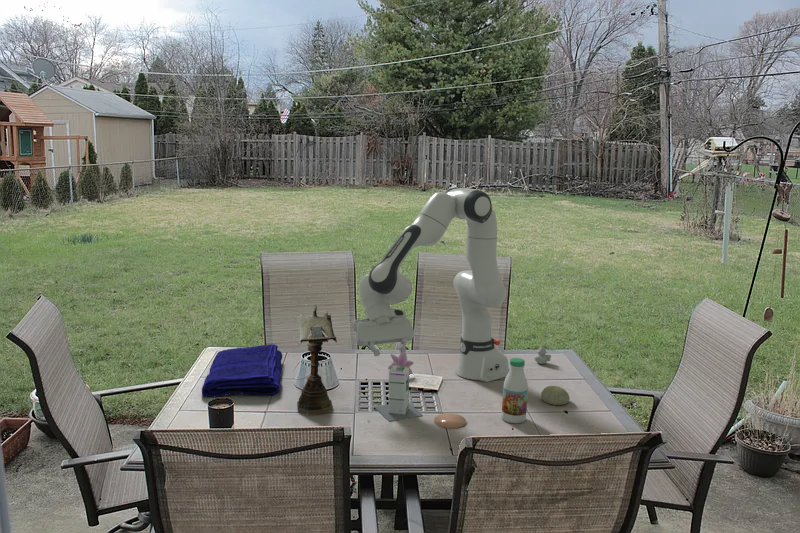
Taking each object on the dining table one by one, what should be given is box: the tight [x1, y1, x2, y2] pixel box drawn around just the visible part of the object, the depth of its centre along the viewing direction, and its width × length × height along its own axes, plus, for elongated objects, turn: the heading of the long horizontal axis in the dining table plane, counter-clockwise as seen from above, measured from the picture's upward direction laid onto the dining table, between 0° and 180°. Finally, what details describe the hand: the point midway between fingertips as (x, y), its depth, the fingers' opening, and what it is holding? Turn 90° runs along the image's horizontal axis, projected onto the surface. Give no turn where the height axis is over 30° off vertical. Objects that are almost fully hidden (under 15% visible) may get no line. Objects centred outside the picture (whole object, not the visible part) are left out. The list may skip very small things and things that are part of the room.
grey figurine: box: [534, 344, 552, 365], centre depth 258 cm, size 5×7×8 cm
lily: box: [387, 351, 414, 375], centre depth 240 cm, size 11×11×9 cm
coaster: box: [433, 412, 467, 429], centre depth 202 cm, size 10×10×1 cm
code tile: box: [374, 403, 424, 422], centre depth 209 cm, size 12×12×1 cm
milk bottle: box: [501, 357, 529, 424], centre depth 204 cm, size 8×8×20 cm
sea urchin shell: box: [540, 385, 570, 406], centre depth 221 cm, size 9×8×8 cm
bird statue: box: [296, 303, 338, 416], centre depth 204 cm, size 17×13×35 cm
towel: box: [201, 343, 283, 399], centre depth 233 cm, size 26×36×9 cm
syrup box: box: [387, 366, 410, 415], centre depth 208 cm, size 6×6×14 cm
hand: (390, 354), depth 211 cm, fingers open, 8 cm apart
